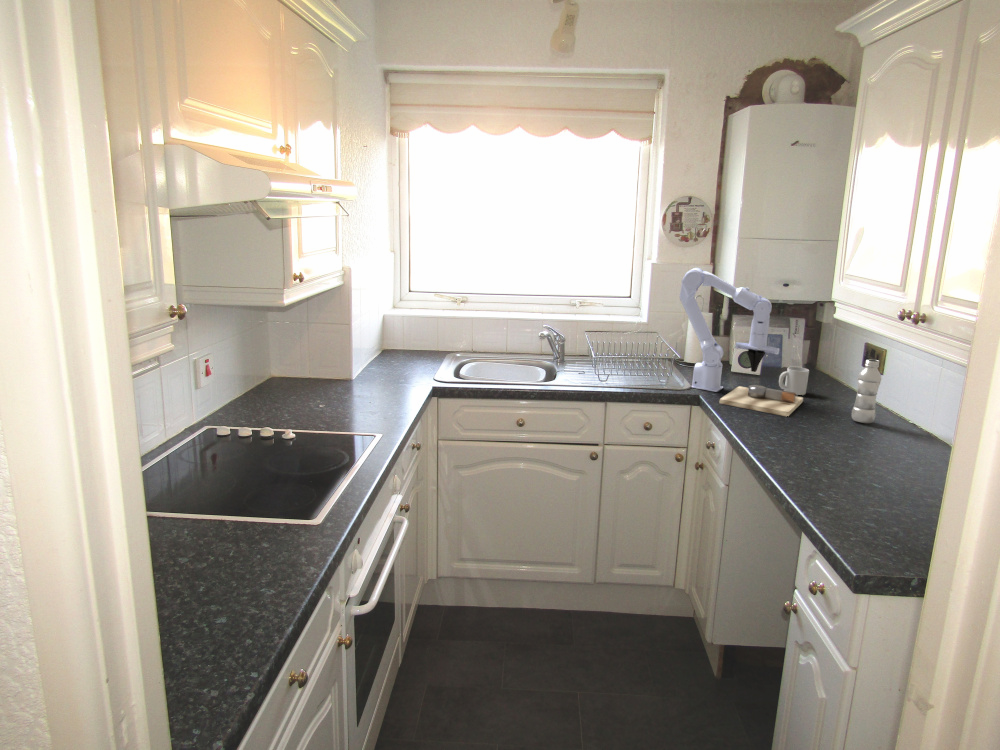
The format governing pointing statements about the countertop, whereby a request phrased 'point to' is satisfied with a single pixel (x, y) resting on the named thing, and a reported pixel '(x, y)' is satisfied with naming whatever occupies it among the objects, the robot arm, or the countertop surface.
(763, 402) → the lock board
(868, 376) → the plastic bottle
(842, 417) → the countertop surface
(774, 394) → the lever
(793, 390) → the cup
